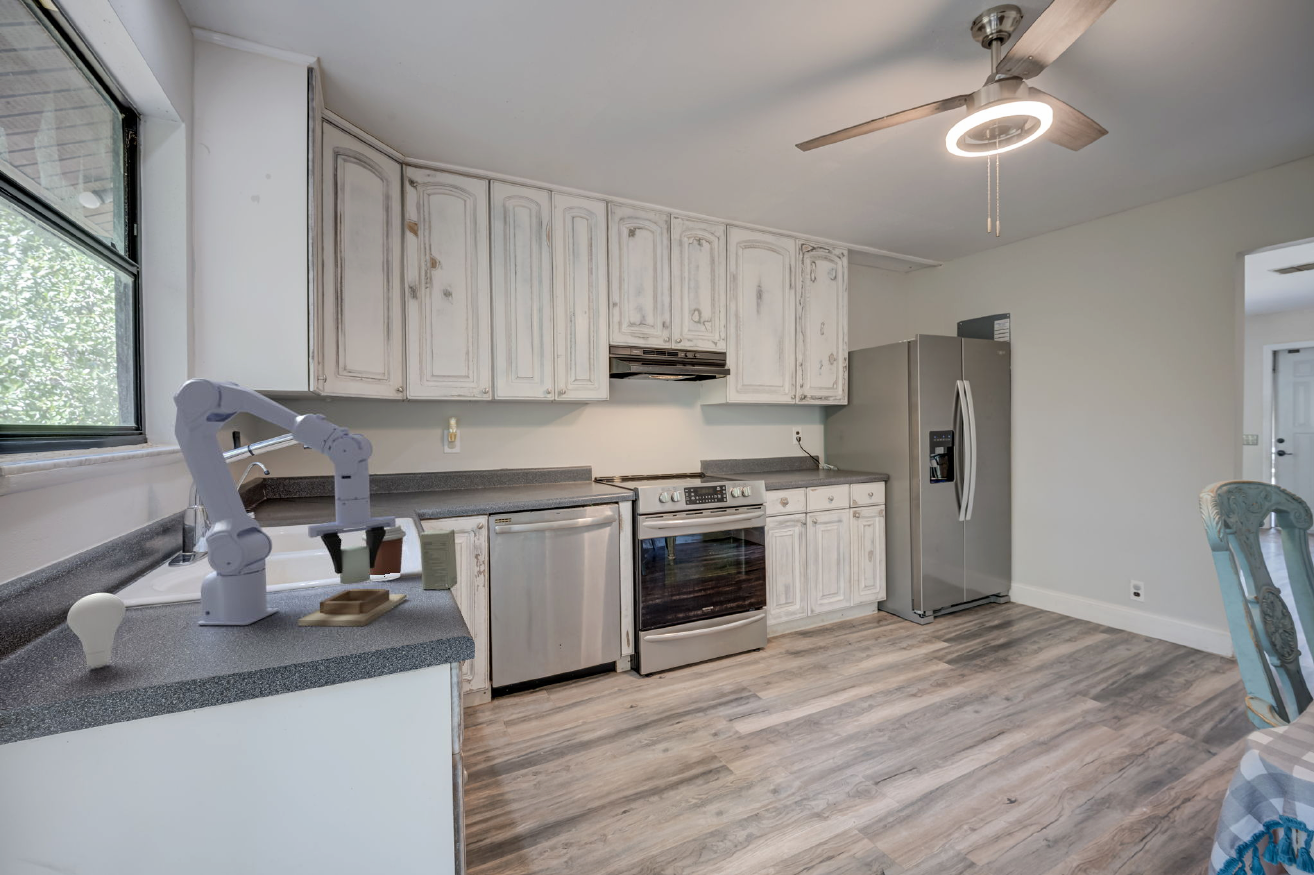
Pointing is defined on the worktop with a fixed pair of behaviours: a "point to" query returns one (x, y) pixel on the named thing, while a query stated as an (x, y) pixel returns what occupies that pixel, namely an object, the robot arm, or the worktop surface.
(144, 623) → the worktop surface
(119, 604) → the lightbulb
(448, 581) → the skincare box
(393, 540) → the coffee cup
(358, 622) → the socket board
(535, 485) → the worktop surface
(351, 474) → the robot arm
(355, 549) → the sage cap
